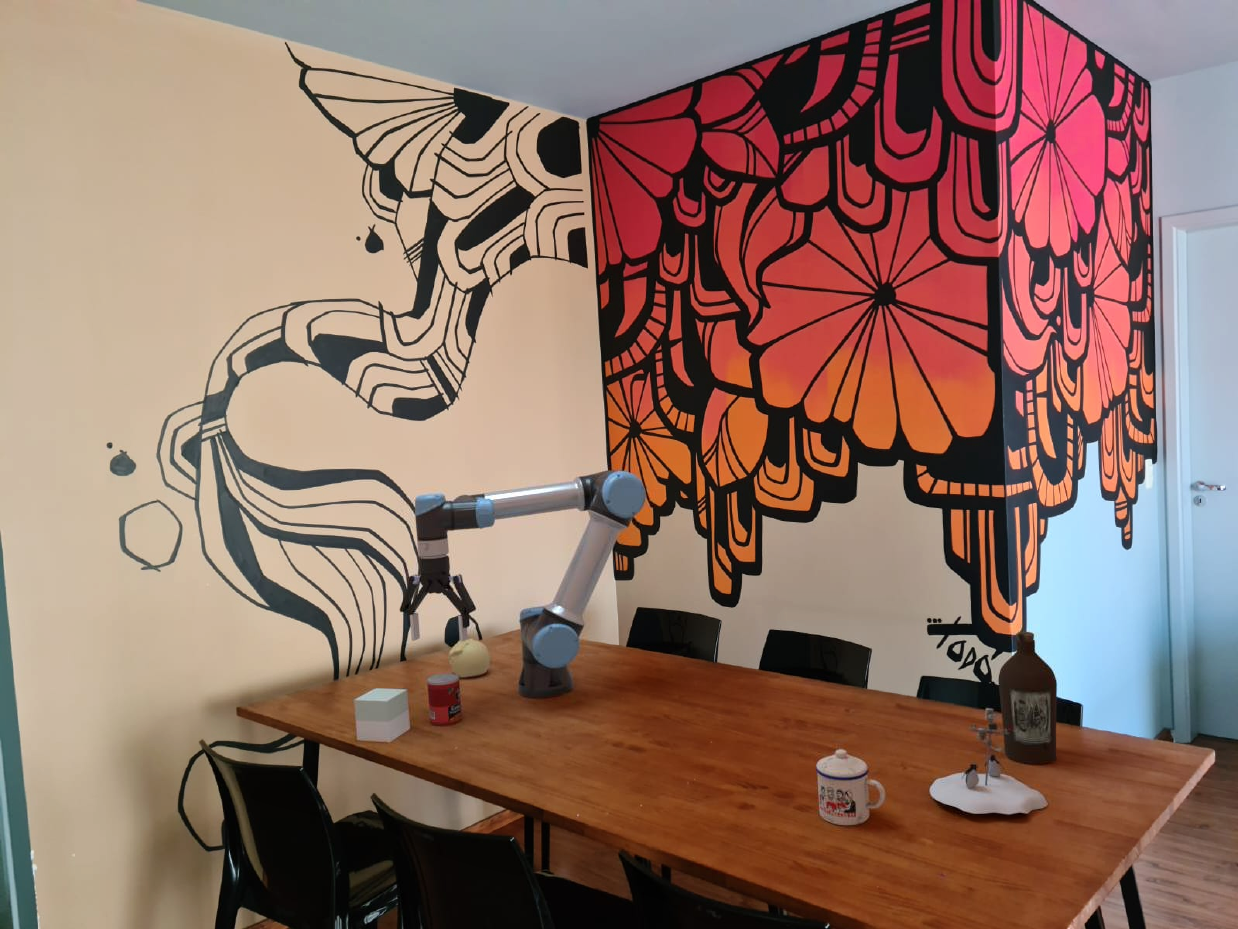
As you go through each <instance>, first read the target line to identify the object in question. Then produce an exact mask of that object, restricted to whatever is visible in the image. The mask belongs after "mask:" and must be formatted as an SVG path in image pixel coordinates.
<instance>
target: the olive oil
mask: <svg viewBox="0 0 1238 929" xmlns="http://www.w3.org/2000/svg"><path fill="white" fill-rule="evenodd" d="M997 679H998V690H999V691H998V692H999V701H1000V710H1001V719H1002V731H1003V730H1004V728H1006V730H1007V729H1008V728H1010V727H1011V726H1012V727H1013V728H1012V729H1011V730H1007V732H1008V733H1009V734H1003V742H1004V743H1003V745H1004V746H1003V747H1004V755H1005V756H1006V757H1007V758H1008V759H1009V760H1012V761H1015V762H1017V763H1022V764H1026V765H1047V764H1051V763H1053V762H1055V761H1056V759H1057V697H1058V696H1057V695H1058V694H1057V693H1058V692H1057V691H1058V684H1057V683H1058V682H1057V678H1056V674H1055V673H1054V670H1053V669H1052V667H1051V666H1050V665H1049V664H1048V663H1046V661H1045V660H1043V659H1042V657H1041V656H1040V655H1038V653H1037V652H1036V640H1035V634H1034V633H1033V632H1031V631H1018V632H1017V633H1016V651H1015V653H1014V654H1013V655H1012V656H1011V657H1010V658H1009V659H1007V660H1006V662H1004V664H1002V666H1001V667H1000V671H999V672H998V678H997Z"/></svg>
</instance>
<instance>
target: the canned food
mask: <svg viewBox="0 0 1238 929" xmlns="http://www.w3.org/2000/svg"><path fill="white" fill-rule="evenodd" d="M460 687H461V685H460V677H459V676H458V675H456V674H455V673H440V674H436V675H433V676H430V677H429V678H427V693H428V694H427V695H428V696H427V697H428V706H429V708H428V709H429V710H428V711H429V720H430V722H431V724H432V725H434V726H439V727H442V726H443V727H444V726H450V725H451V726H452V725H455V724H457V723H459V722H460V721H461V720H462V716H463V715H462V701H461V688H460Z"/></svg>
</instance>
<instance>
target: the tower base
mask: <svg viewBox="0 0 1238 929" xmlns="http://www.w3.org/2000/svg"><path fill="white" fill-rule="evenodd" d="M355 729H356V739H357V741H363V742H364V741H365V742H378V743H379V742H381V743H391V742H393V741H394V740H395V739H398V738H399V737H400V736H402V735H403V734H405V733H406V732H407V731H409V730H410V729H411V724H410V712H409V708H408V710H407V711H405V712H404V713H402V714H400V715H399V716H397V717H396V718H394V719H392V720H391V721H389V722H377V721H358V720H356V719H355Z"/></svg>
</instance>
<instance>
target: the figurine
mask: <svg viewBox="0 0 1238 929" xmlns="http://www.w3.org/2000/svg"><path fill="white" fill-rule="evenodd" d="M984 712H985V713H984V714H985V715H984V719H985V720H988V721H987V729H986V728H984V727H979V728H978V725H976V724H975V725H973V724H970V726H971V727H972V728H968V731H970V732H974V733H975V732H976V733H977V735H976V738H978V740H980V741H981V742H983V743H985V744H987V756H986V757H987V758H986V762H985V764H984V767H986V770H985V773H979V772H978V770H977V768H979V765H978V764H973V763H971V764H969V768H967V770H965V772H959V773H958V772H957V773H953V774H950V775H948V776H944V777H941V778H940V777H939V778H936V780H934V782H933V783H932V784H931V786H930V787H929V794H930V795H931V797H932V798H933V799H934V800H936V801H938V802H940V803H942V804H944V805H948V806H951V807H955V808H957V809H959V810H961V811H963V812H967V813H970V814H975V815H976V814H978V815H979V814H991V813H996V814H1003V815H1013V814H1018V813H1022V814H1029V813H1031V811H1034V810H1035V811H1036V810H1040V809H1044V808H1045V807H1048V805H1049V804H1048V802H1047V800H1046V798H1045V797H1044V795H1043V794H1042V793H1041V792H1039V791H1038V790H1036V789H1033V788H1030V787H1029V786H1028V785H1026V784H1025V783H1023V782H1021V781H1019V780H1017V779H1015V778H1014V777H1013V776H1011V775H1008V774H1004V773H1002V771H1001V770H1002V769H1003V770H1005V768H1004V766H1003V765H1002V764H1001V762H1000V761H998V760H997V758H996V755H994V754H990V752H991V750H992V751H993V752H994V753H996V752H998V753H1003V752H1004V750H1003V748H1002V747H998V748H996V747H994V746H993V745H992V743H993V742H992V734H993V735H996V736H997V737H998V736H999V735H1000V736H1002V735H1004V734H1009V733H1008V732H1007V730H1011V729H1012V728H1013V727H1012V726H1011V727H1010V728H1008V729H1007V730H1006V728H1004V730H1003V727H1002V728H1000V731H999V728H998V724H997V722H993V721H994V720H998V714H994V708H989V707H986V708H985V711H984ZM977 728H978V729H977ZM1001 730H1002V731H1001ZM987 736H988V740H986V739H987ZM1000 766H1001V767H1002V769H1001V767H1000Z"/></svg>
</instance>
